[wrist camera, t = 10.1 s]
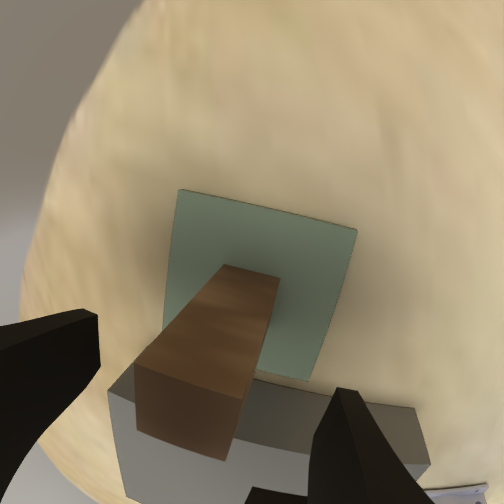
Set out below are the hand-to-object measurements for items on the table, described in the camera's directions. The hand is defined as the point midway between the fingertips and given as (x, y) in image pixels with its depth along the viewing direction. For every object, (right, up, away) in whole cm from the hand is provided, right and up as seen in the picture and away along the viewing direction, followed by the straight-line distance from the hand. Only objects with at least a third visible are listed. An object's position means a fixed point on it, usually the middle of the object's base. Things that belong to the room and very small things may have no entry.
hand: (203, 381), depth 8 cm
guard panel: (+2, -9, +9) cm, 13 cm away
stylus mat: (+1, +2, +6) cm, 7 cm away
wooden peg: (+1, +2, +6) cm, 7 cm away
